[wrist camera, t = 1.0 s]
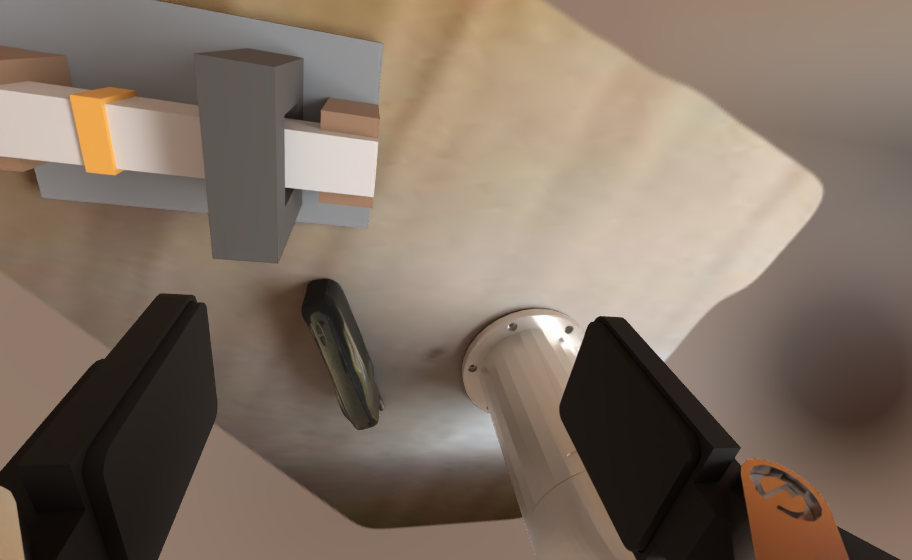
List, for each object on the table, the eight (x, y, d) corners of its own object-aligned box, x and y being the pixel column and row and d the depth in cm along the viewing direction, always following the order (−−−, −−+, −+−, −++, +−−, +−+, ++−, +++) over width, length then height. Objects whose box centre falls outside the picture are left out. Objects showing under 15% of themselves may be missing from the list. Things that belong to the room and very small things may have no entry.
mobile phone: (291, 312, 31) (359, 453, 38) (333, 301, 31) (393, 443, 38) (301, 280, 35) (361, 411, 42) (338, 270, 35) (391, 403, 42)
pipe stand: (382, 43, 28) (386, 45, 21) (368, 220, 33) (367, 271, 26) (1, -30, 23) (-163, -58, 16) (56, 190, 29) (-47, 241, 22)
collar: (303, 57, 26) (274, 67, 18) (302, 204, 30) (278, 263, 22) (248, 48, 25) (193, 53, 17) (254, 199, 29) (212, 258, 21)
